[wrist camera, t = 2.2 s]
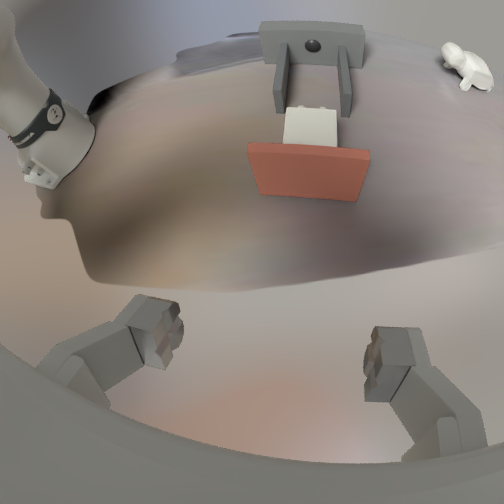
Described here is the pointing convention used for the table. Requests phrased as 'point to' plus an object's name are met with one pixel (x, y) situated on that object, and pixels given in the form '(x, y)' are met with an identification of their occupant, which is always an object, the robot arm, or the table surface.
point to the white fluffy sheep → (467, 67)
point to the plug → (309, 159)
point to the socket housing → (312, 52)
